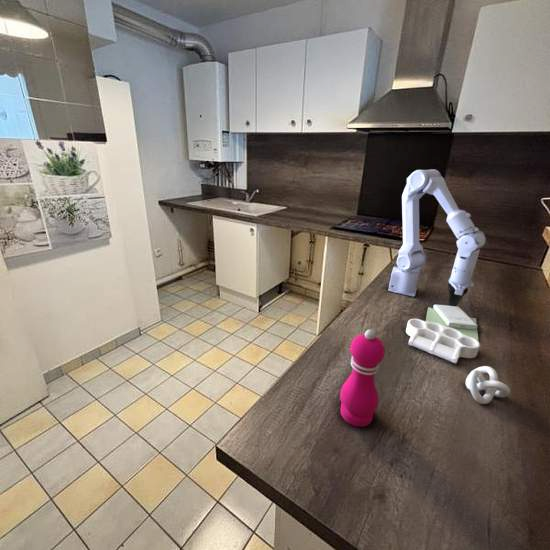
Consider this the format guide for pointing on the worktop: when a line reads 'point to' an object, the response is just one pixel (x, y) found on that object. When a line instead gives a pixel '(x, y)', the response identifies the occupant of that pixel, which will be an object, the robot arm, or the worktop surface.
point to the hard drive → (455, 317)
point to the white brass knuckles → (441, 340)
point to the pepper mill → (362, 380)
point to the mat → (435, 317)
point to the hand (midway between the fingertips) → (452, 305)
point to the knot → (486, 385)
